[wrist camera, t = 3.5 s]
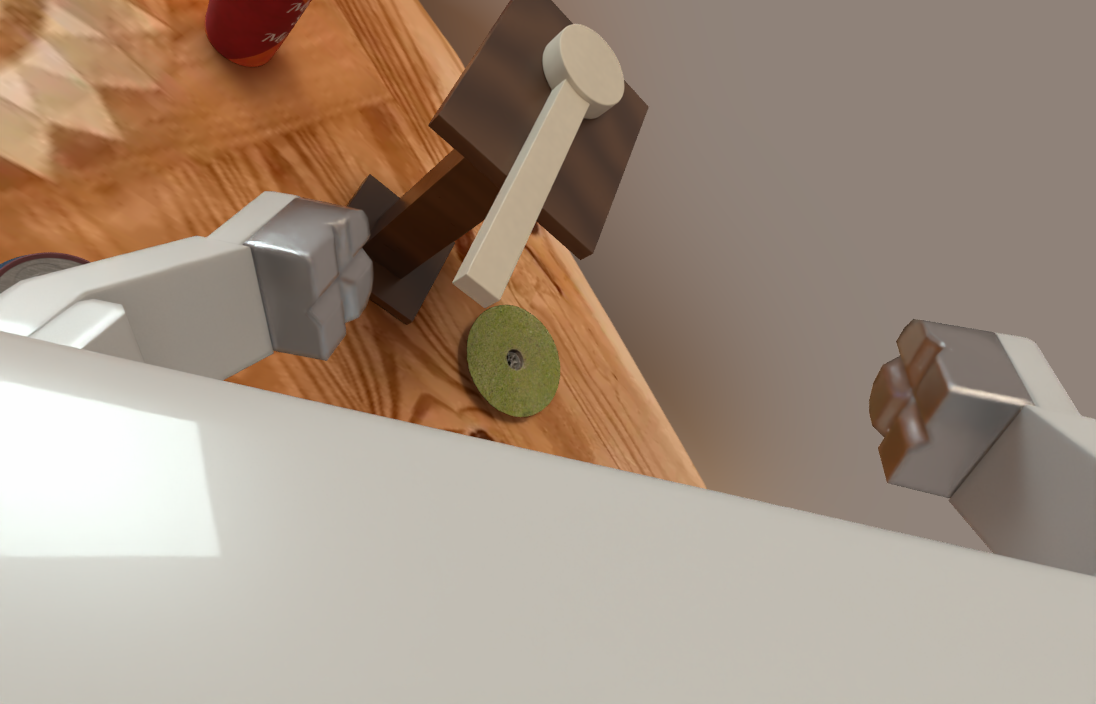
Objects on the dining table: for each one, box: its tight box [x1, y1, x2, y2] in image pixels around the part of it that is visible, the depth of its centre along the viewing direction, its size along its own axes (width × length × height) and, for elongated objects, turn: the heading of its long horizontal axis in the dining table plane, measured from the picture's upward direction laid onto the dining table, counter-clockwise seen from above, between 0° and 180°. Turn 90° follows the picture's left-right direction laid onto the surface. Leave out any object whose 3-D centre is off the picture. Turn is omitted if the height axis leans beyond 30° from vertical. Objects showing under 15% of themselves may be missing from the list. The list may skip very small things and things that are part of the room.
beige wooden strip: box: [452, 24, 624, 308], centre depth 38 cm, size 22×6×2 cm, turn 157°
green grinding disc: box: [467, 305, 560, 417], centre depth 65 cm, size 11×11×2 cm
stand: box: [346, 0, 648, 325], centre depth 51 cm, size 15×12×25 cm
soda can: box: [0, 253, 91, 294], centre depth 37 cm, size 7×7×12 cm
